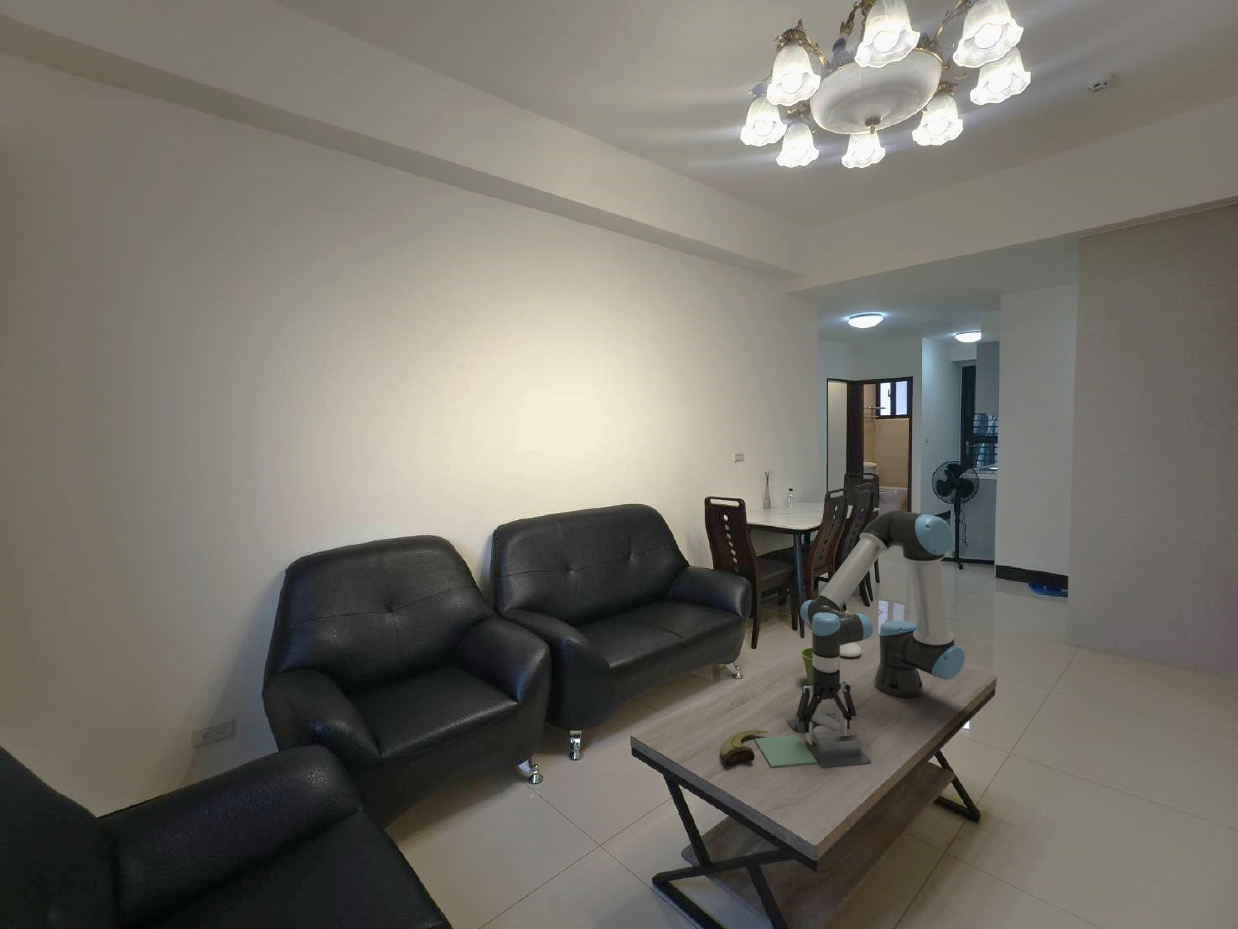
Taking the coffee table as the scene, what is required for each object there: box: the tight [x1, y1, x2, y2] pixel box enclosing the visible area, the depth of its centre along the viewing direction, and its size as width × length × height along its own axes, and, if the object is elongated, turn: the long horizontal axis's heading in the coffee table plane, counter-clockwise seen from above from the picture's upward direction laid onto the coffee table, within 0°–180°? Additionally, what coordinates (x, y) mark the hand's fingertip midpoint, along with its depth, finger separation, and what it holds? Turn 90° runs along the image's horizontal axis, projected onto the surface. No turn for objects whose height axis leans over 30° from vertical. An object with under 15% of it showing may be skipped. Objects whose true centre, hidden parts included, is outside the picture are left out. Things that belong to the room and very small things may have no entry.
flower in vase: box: [840, 607, 863, 658], centre depth 217 cm, size 13×11×25 cm
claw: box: [720, 729, 768, 766], centre depth 156 cm, size 20×10×3 cm, turn 152°
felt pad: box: [754, 734, 818, 769], centre depth 154 cm, size 13×13×1 cm
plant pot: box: [800, 647, 813, 686], centre depth 193 cm, size 12×12×11 cm
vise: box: [787, 708, 872, 769], centre depth 158 cm, size 14×23×5 cm, turn 6°
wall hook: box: [811, 711, 844, 745], centre depth 158 cm, size 9×10×10 cm
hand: (826, 740), depth 159 cm, fingers closed on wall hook, 10 cm apart
